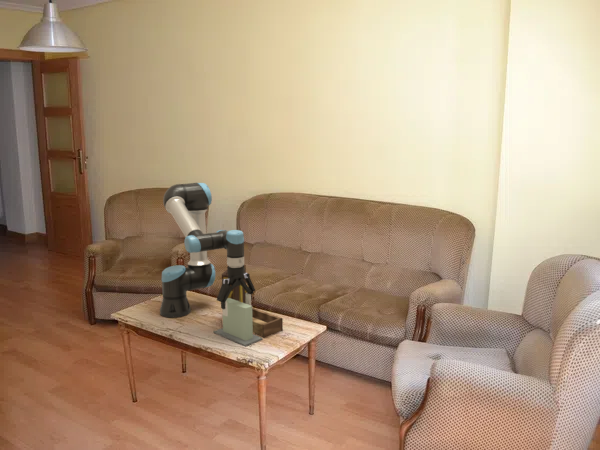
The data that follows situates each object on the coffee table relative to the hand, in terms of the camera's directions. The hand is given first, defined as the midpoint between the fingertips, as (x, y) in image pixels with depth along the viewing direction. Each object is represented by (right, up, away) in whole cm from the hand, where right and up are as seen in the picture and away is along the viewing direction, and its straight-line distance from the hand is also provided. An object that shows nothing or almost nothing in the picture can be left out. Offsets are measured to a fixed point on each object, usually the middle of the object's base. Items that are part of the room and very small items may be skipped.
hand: (236, 311), depth 238 cm
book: (-3, -7, +24) cm, 26 cm away
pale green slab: (0, -11, +2) cm, 11 cm away
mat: (0, -12, +2) cm, 12 cm away
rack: (+9, -10, +11) cm, 17 cm away
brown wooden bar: (+6, -10, +9) cm, 15 cm away
